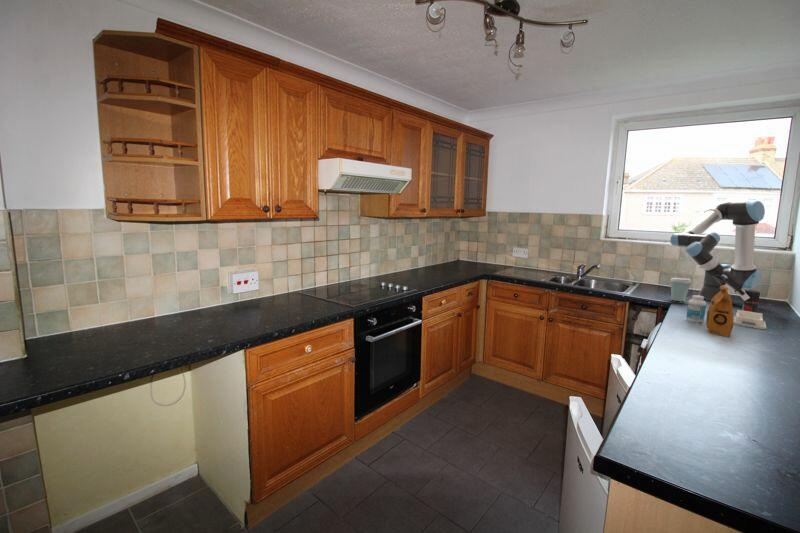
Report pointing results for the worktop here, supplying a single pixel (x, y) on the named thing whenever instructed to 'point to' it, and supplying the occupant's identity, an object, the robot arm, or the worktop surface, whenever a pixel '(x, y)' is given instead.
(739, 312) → the cream square open box
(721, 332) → the coffee package
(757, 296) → the deodorant
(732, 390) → the worktop surface
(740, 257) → the robot arm
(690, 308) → the pill bottle
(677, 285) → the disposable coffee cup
